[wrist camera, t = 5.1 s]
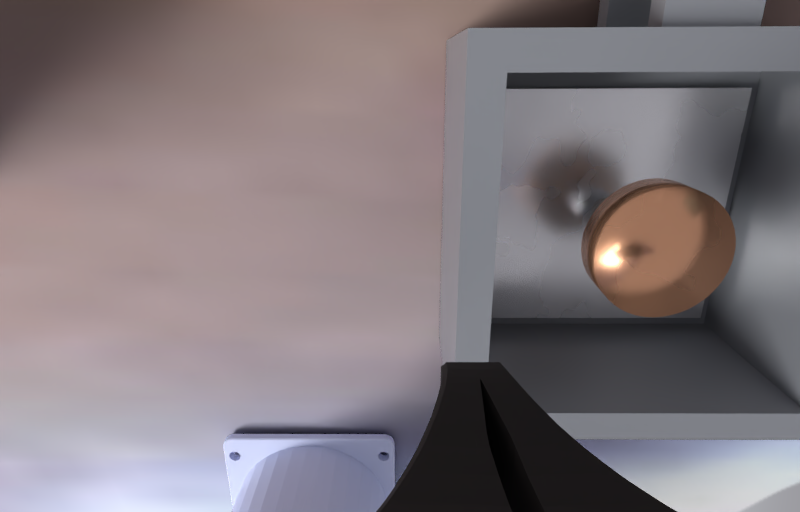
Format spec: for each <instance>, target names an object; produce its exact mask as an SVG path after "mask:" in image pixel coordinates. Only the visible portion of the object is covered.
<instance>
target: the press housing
mask: <svg viewBox="0 0 800 512" xmlns="http://www.w3.org/2000/svg"><path fill="white" fill-rule="evenodd" d="M765 3H766V0H600V6H599V14H598V23H597V27H561V28H467V29H465V30H464V31H462V32H460V33H459V34H457V35H455V36H453V37H452V38H450V39H448V40H447V46H446V86H445V125H444V165H443V204H442V244H441V284H440V323H439V340H440V348H441V356H442V364H443V365H444V364H445V363H446V362H500V363H501V364H502V365H503V366H504V367H505V368H506V369H507V371H508V372H509V373H510V374H511V375H512V376H513V377H514V379H515V380H516V381H517V382H518V383H519V384H520V385H521V386H522V388H523V389H524V390H525V391H526V392H527V393H528V394H529V395H530V396H531V397H532V399H533V400H534V401H535V402H536V403H537V404H538V405H539V406H540V407H541V408H542V409H543V410H544V411H545V412H546V413H547V414H548V415H549V416H550V417H551V418H552V419H553V420H554V421H555V422H556V423H557V424H558V425H559V426H560V427H561V428H562V429H564V430H565V431H566V432H567V433H568V434H569V435H570V436H571V437H572V438H574V439H638V440H800V26H761V21H762V17H763V12H764V8H765ZM681 87H746V88H752V91H751V96H750V100H749V105H748V109H747V113H746V118H745V122H744V127H743V131H742V136H741V140H740V145H739V149H738V153H737V158H736V162H735V167H734V171H733V176H732V180H731V185H730V189H729V193H728V198H727V202H726V207H725V209H726V211H727V212H728V214H729V216H730V218H731V220H732V222H733V225H734V229H735V236H736V247H735V253H734V257H733V261H732V264H731V266H730V268H729V270H728V273H727V274H726V276H725V277H724V279H723V281H722V282H721V283H720V284H719V286H718V287H717V288H716V289H715V290H714V291H713V292H712V293H711V294H710V295H709V296H708V297H707V298H705V300H704V305H703V309H702V313H701V318H491V316H492V300H493V285H494V269H495V254H496V239H497V223H498V208H499V192H500V177H501V162H502V146H503V131H504V115H505V100H506V88H681Z"/></svg>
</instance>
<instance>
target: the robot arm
mask: <svg viewBox="0 0 800 512" xmlns="http://www.w3.org/2000/svg"><path fill="white" fill-rule="evenodd" d="M223 448H224V455H225V461H226V467H227V474H228V480H229V487H230V493H231V499H232V506H233V509H232V512H677V511H675V510H673V509H672V508H670V507H668V506H666V505H665V504H663V503H662V502H660V501H658V500H657V499H655V498H654V497H652V496H651V495H649V494H648V493H646V492H644V491H643V490H641V489H640V488H638V487H637V486H635V485H634V484H632V483H631V482H629V481H628V480H626V479H625V478H623V477H622V476H621V475H619V474H618V473H616V472H615V471H614V470H612V469H611V468H610V467H608V466H607V465H606V464H604V463H603V462H602V461H601V460H599V459H598V458H597V457H595V456H594V455H593V454H591V453H590V452H589V451H588V450H586V449H585V448H584V447H583V446H582V445H580V444H579V443H578V442H577V441H576V440H575V439H574V438H572V437H571V436H570V435H569V434H568V433H567V432H566V431H565V430H564V429H562V428H561V427H560V426H559V425H558V424H557V423H556V422H555V421H554V420H553V419H552V418H551V417H550V416H549V415H548V414H547V413H546V412H545V411H544V410H543V409H542V408H541V407H540V406H539V405H538V404H537V403H536V402H535V401H534V400H533V399H532V397H531V396H530V395H529V394H528V393H527V392H526V391H525V390H524V389H523V388H522V386H521V385H520V384H519V383H518V382H517V381H516V380H515V379H514V377H513V376H512V375H511V374H510V373H509V372H508V371H507V369H506V368H505V367H504V366H503V365H502V364H501V363H500V362H446V363H445V364H444V365H442V366H441V386H440V390H439V395H438V398H437V401H436V404H435V407H434V410H433V413H432V416H431V419H430V421H429V424H428V426H427V428H426V430H425V433H424V435H423V437H422V440H421V442H420V444H419V446H418V448H417V450H416V452H415V454H414V456H413V457H412V459H411V461H410V463H409V464H408V466H407V468H406V470H405V471H404V473H403V474H402V476H401V478H400V479H399V481H398V482H397V484H396V485H395V447H394V439H393V438H392V437H391V436H389V435H386V434H231V435H229V436H228V437H227V438H226V440H225V442H224V445H223ZM233 452H238V453H239V455H237V454H234V453H233ZM381 452H386V453H388V454H387V455H381V454H380V453H381Z"/></svg>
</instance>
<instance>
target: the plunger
mask: <svg viewBox="0 0 800 512" xmlns="http://www.w3.org/2000/svg"><path fill="white" fill-rule="evenodd" d="M751 91H752V88H746V87H681V88H506V100H505V115H504V131H503V146H502V162H501V177H500V192H499V208H498V223H497V239H496V254H495V269H494V285H493V300H492V316H491V318H701V313H702V309H703V305H704V300H705V298H707V297H708V296H709V295H710V294H711V293H712V292H713V291H714V290H715V289H716V288H717V287H718V286H719V284H720V283H721V282H722V281H723V279H724V277H725V276H726V274H727V273H728V270H729V268H730V266H731V264H732V261H733V257H734V253H735V247H736V236H735V229H734V225H733V222H732V220H731V218H730V216H729V214H728V212H727V211H726V209H725V207H726V202H727V198H728V193H729V189H730V185H731V180H732V176H733V171H734V167H735V162H736V158H737V153H738V149H739V145H740V140H741V136H742V131H743V127H744V122H745V118H746V113H747V109H748V105H749V100H750V96H751Z"/></svg>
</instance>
